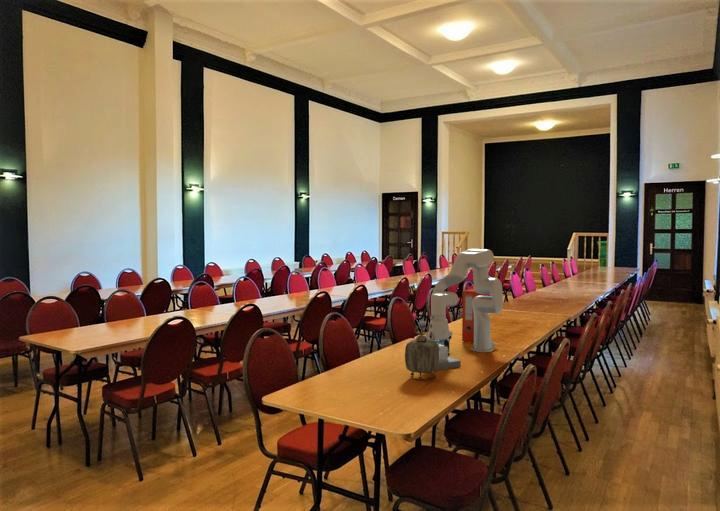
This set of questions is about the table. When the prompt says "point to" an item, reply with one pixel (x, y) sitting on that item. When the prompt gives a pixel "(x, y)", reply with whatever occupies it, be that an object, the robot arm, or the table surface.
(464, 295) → the file binder
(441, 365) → the grey square tray
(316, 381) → the table surface
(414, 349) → the tabletop clock
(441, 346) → the block
